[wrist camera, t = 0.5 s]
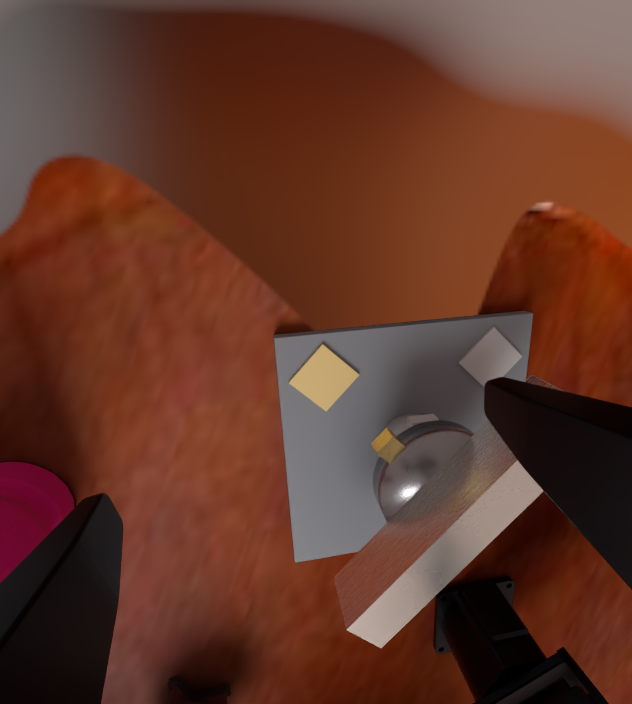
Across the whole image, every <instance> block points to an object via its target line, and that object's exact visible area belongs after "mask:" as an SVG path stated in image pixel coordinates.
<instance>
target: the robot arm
mask: <svg viewBox="0 0 632 704" xmlns="http://www.w3.org/2000/svg"><path fill="white" fill-rule="evenodd" d="M484 412H485V415H486V417H487V419H488V420H489V422H490V423H491V424H492V426H493V427H494V429H495V430H496V431H497V433H498V434H499V435H500V437H501V438H502V440H503V441H504V442H505V444H506V445H507V446H508V448H509V449H510V451H511V452H512V453H513V455H514V456H515V458H516V459H517V460H518V462H519V463H520V464H521V465H522V467H523V468H524V469H525V470H526V471H527V473H528V474H529V475H530V476H531V477H532V478H533V479H534V481H535V482H536V483H537V484H538V485H539V486H540V487H541V488H542V490H543V491H544V492H545V493H546V494H547V495H548V496H549V497H550V499H551V500H552V501H553V502H554V503H555V504H556V505H557V506H558V508H559V509H560V510H561V511H562V512H563V513H564V514H565V515H566V516H567V518H568V519H569V520H570V521H571V522H572V523H573V524H574V525H575V527H576V528H577V529H578V530H579V531H580V532H581V533H582V534H583V536H584V537H585V538H586V539H587V540H588V541H589V542H590V543H591V545H592V546H593V547H594V548H595V549H596V550H597V551H598V552H599V554H600V555H601V556H602V557H603V558H604V559H605V560H606V561H607V562H608V564H609V565H610V566H611V567H612V568H613V569H614V570H615V571H616V573H617V574H618V575H619V576H620V577H621V578H622V579H623V580H624V582H625V583H626V584H627V585H628V586H629V587H630V588H631V589H632V407H628V406H623V405H619V404H615V403H611V402H607V401H602V400H598V399H594V398H590V397H586V396H581V395H577V394H573V393H569V392H565V391H561V390H556V389H552V388H548V387H544V386H540V385H535V384H531V383H527V382H523V381H519V380H514V379H510V378H506V377H498V378H495V379H491V380H488V381H487V382H486V383H485V386H484ZM122 543H123V522H122V519H121V517H120V515H119V514H118V512H117V510H116V508H115V506H114V505H113V503H112V501H111V499H110V498H109V496H108V495H107V494H105V493H100V494H97V495H93V496H90V497H87V498H85V499H83V500H82V501H81V502H80V503H79V504H78V505H77V506H76V507H75V508H74V509H73V510H72V511H71V512H70V513H69V514H68V515H67V516H66V517H65V518H64V519H63V520H62V521H61V522H60V523H59V524H58V525H57V526H56V527H55V528H54V529H53V530H52V531H51V532H50V533H49V534H48V535H47V536H46V537H45V538H44V539H43V540H42V541H41V542H40V543H39V544H38V545H37V546H36V547H35V548H34V549H33V550H32V551H31V552H30V553H29V554H28V555H27V556H26V557H25V558H24V559H23V560H22V561H21V562H20V563H19V565H18V566H17V567H16V568H15V569H14V570H13V571H12V572H11V573H10V574H9V575H8V576H7V577H6V578H5V579H4V580H3V581H2V582H1V583H0V704H101V700H102V694H103V688H104V683H105V677H106V671H107V665H108V660H109V654H110V648H111V643H112V637H113V631H114V625H115V620H116V614H117V607H118V601H119V590H120V575H121V559H122ZM514 588H515V583H514V581H513V580H512V579H511V577H502V578H497V579H492V580H487V581H482V582H477V583H471V584H466V585H461V586H456V587H451V588H446V589H442V590H441V591H440V592H439V593H438V594H437V595H436V603H435V624H434V645H433V646H434V649H435V651H436V653H437V654H443V653H448V652H452V653H453V655H454V657H455V659H456V661H457V663H458V666H459V668H460V670H461V672H462V674H463V676H464V678H465V680H466V682H467V684H468V686H469V688H470V691H471V693H472V695H473V697H474V699H475V701H476V702H475V703H473V704H609V703H608V702H607V701H606V700H605V698H604V697H603V696H602V695H601V693H600V692H599V691H598V690H597V688H596V687H595V686H594V685H593V683H592V682H591V681H590V680H589V678H588V677H587V676H586V675H585V673H584V672H583V671H582V670H581V668H580V667H579V666H578V665H577V663H576V662H575V661H574V660H573V658H572V657H571V656H570V655H569V653H568V652H567V651H566V650H565V648H564V647H562V648H560V649H559V650H557V653H556V654H554V655H552V656H551V657H549V658H546V656H545V655H544V653H543V652H542V650H541V649H540V648H539V646H538V645H537V643H536V642H535V640H534V639H533V637H532V636H531V635H530V633H529V632H528V629H527V627H526V626H525V625H524V623H523V622H522V620H521V619H520V617H519V616H518V615H517V613H516V612H515V610H514V609H513V607H512V604H513V596H514Z"/></svg>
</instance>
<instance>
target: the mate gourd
mask: <svg viewBox="0 0 632 704" xmlns="http://www.w3.org/2000/svg"><path fill="white" fill-rule="evenodd" d="M168 687H169V689H170V690H171V693H170V696H169V699H168V702H167V704H227V698H226V697H227V696H229V695H231V692H230V686H229V685H228V684H227V683H225V684H222V685H220V686H217V687H215V688H213V689H210V690H208V691H206V692H203V693H201V694H198V695H193V694H192V693H191V691H190V690H189V689H188V687H187V686H186V685H185V683H184V682H183V680H182V679H181V678H180V677H179V676H175V677H173V678H171V679H170V680H169V683H168Z"/></svg>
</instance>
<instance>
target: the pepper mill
mask: <svg viewBox="0 0 632 704" xmlns="http://www.w3.org/2000/svg"><path fill="white" fill-rule="evenodd" d="M74 508H75V506H74V499H73V497H72V495H71V493H70V491H69V489H68V487H67V486H66V484H65V483H64V482H62V481H61V480H60V479H59V478H58V477H57V476H56V475H55V474H54V473H52V472H50V471H48V470H46V469H44V468H42V467H40V466H36V465H32V464H29V463H25V462H2V463H0V583H1V582H2V581H3V580H4V579H5V578H6V577H7V576H8V575H9V574H10V573H11V572H12V571H13V570H14V569H15V568H16V567H17V566H18V565H19V563H20V562H21V561H22V560H23V559H24V558H25V557H26V556H27V555H28V554H29V553H30V552H31V551H32V550H33V549H34V548H35V547H36V546H37V545H38V544H39V543H40V542H41V541H42V540H43V539H44V538H45V537H46V536H47V535H48V534H49V533H50V532H51V531H52V530H53V529H54V528H55V527H56V526H57V525H58V524H59V523H60V522H61V521H62V520H63V519H64V518H65V517H66V516H67V515H68V514H69V513H70V512H71V511H72V510H73V509H74Z"/></svg>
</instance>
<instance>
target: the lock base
mask: <svg viewBox="0 0 632 704" xmlns="http://www.w3.org/2000/svg"><path fill="white" fill-rule="evenodd" d="M532 320H533V313H531V312H527V311H517V312H506V313H496V314H485V315H475V316H465V317H455V318H444V319H434V320H423V321H413V322H402V323H393V324H382V325H371V326H361V327H350V328H340V329H329V330H319V331H308V332H298V333H288V334H277V335H274V345H275V356H276V367H277V378H278V388H279V399H280V410H281V420H282V431H283V442H284V453H285V463H286V474H287V485H288V495H289V506H290V517H291V528H292V538H293V549H294V558H295V563H296V562H301V561H307V560H313V559H318V558H324V557H330V556H335V555H341V554H347V553H352V552H358V551H360V550H361V549H362V548H363V547H364V546H365V545H366V544H367V543H368V542H369V541H370V540H371V539H372V537H373V536H374V535H375V534H376V533H377V532H378V531H379V530H380V529H381V528H382V527H383V526H384V525H385V524H386V523H387V521H386V519H385V517H384V515H383V513H382V511H381V509H380V506H379V504H378V502H377V500H376V498H375V495H374V491H373V473H374V469H375V466H376V463H377V461H378V459H379V457H380V456H379V455H378V454H377V453H376V451H375V450H374V448H373V446H372V444H371V443H372V442H373V441H374V440H375V439H376V438H377V437H378V436H379V435H380V434H381V433H382V432H383V430H384V429H385V428H388V429H389V430H390V431H391V432H393V433H394V434H395V435H397V436H398V435H399V434H400V433H402V432H403V431H405V430H407V429H408V428H410V427H412V426H415V425H417V424H420V423H423V422H428V421H435V420H445V421H451V422H455V423H458V424H461V425H463V426H465V427H467V428H468V429H469V430H471V431H472V432H473V433H475V432H476V431H477V430H478V429H479V428H480V427H481V426H482V425H483V424H484V423H485V422H486V421H487V420H488V419H487V417H486V415H485V412H484V386H485V383H486V382H487V381H488V380H491V379H495V378H498V377H506V378H510V379H514V380H519V381H523V382H525V381H526V373H527V365H528V356H529V347H530V338H531V329H532Z"/></svg>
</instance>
